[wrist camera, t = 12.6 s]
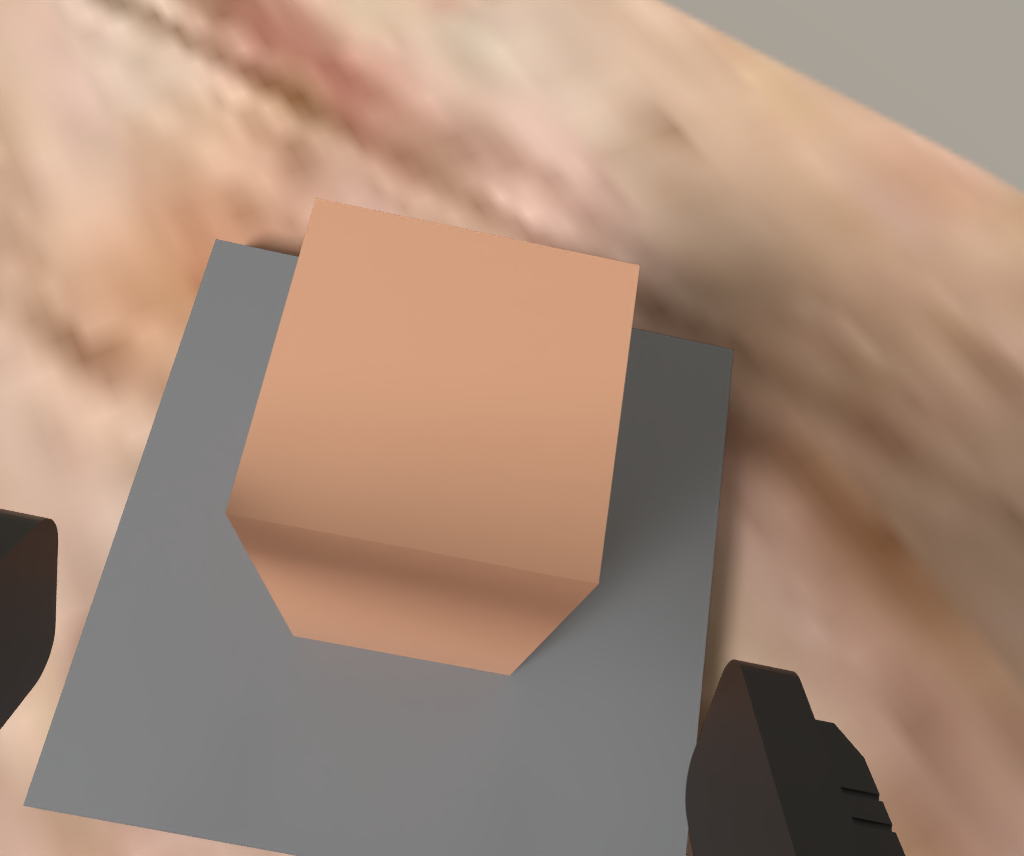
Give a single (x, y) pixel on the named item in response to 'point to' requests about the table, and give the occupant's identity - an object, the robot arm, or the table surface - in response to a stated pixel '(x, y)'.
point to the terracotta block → (435, 438)
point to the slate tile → (377, 675)
